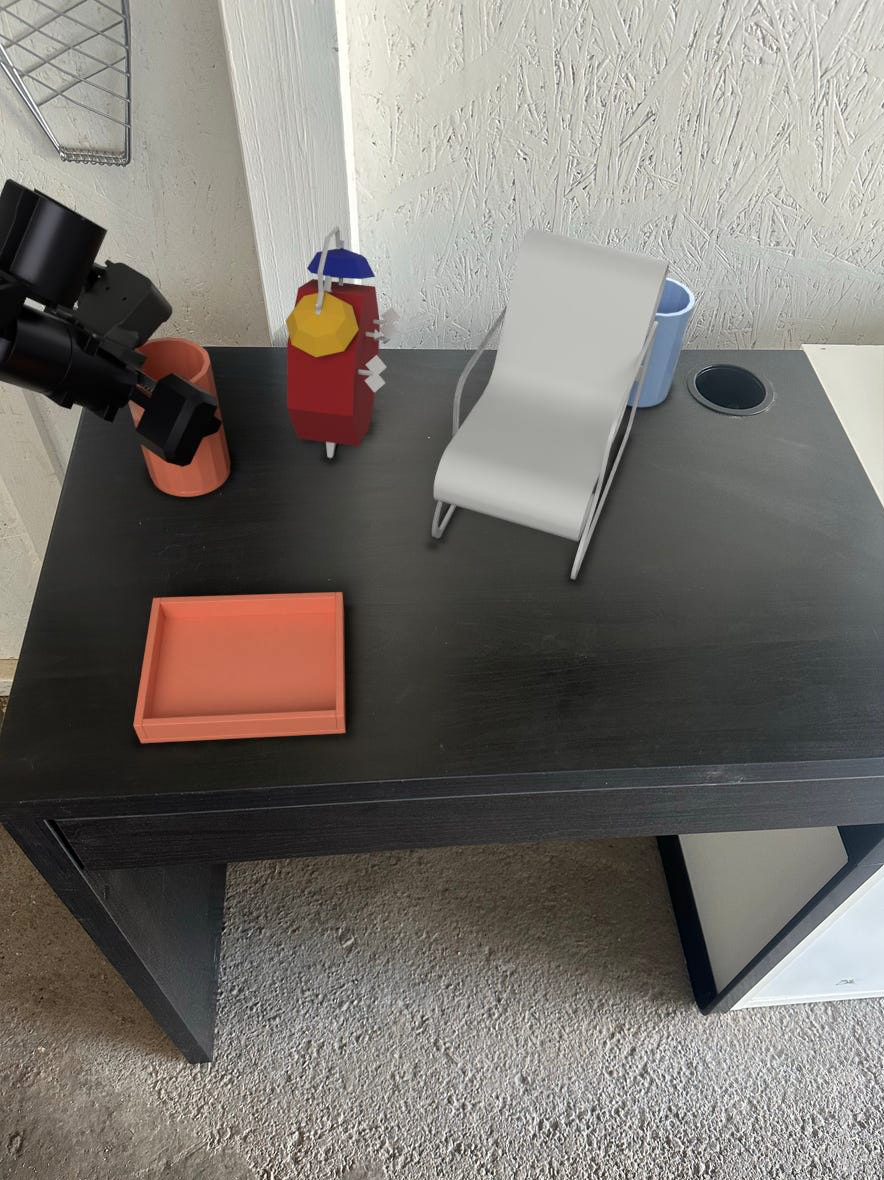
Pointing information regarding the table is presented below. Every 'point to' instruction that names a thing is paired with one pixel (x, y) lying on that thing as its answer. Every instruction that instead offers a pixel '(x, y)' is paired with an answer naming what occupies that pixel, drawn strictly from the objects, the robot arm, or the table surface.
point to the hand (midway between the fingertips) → (189, 406)
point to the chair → (554, 388)
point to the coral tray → (243, 667)
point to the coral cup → (212, 452)
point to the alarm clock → (335, 349)
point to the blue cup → (665, 344)
